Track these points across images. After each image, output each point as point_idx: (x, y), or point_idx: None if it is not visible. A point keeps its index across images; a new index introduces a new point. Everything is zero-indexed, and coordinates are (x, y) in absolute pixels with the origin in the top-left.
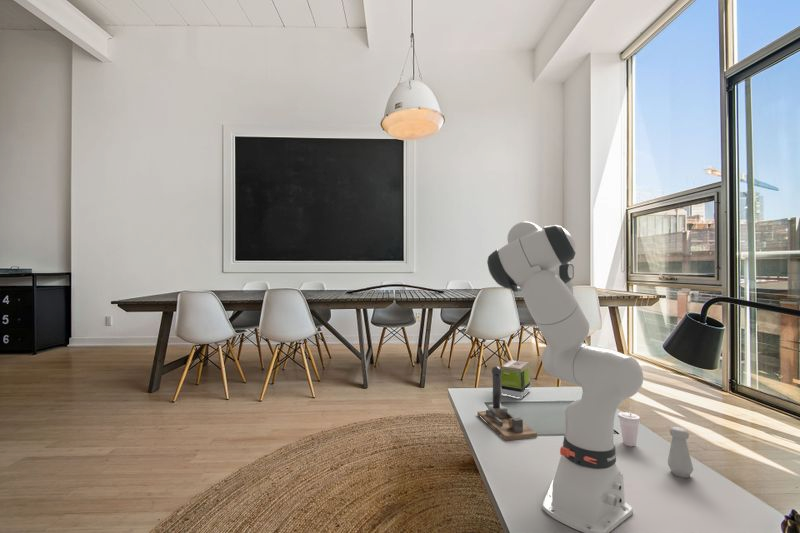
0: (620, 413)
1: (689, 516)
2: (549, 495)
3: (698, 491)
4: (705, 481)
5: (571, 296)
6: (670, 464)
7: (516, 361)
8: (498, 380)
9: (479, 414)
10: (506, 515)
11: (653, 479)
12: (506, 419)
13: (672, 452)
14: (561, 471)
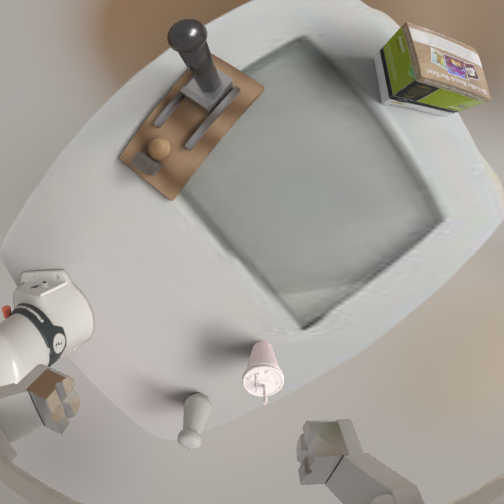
0: (266, 369)
1: (111, 391)
2: (34, 275)
3: (168, 407)
4: None
5: None
6: (187, 399)
7: (473, 63)
8: (182, 58)
9: None
10: (4, 246)
11: (158, 374)
12: (201, 117)
13: (186, 413)
14: (15, 300)
